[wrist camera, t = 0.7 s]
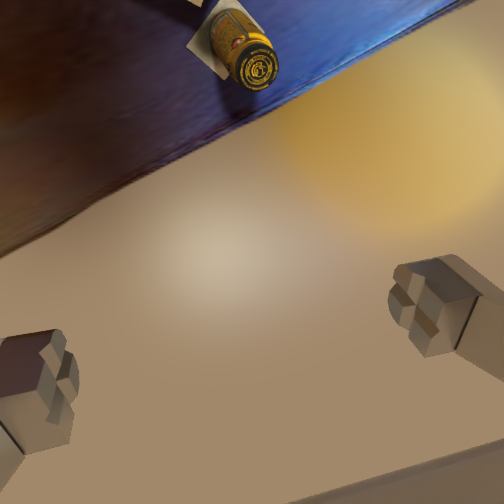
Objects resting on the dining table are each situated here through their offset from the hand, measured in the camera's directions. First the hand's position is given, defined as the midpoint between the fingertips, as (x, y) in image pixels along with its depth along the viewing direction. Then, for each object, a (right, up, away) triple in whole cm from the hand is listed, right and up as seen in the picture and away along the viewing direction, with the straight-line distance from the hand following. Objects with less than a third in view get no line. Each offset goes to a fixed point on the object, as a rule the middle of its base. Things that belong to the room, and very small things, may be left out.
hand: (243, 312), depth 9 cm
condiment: (-3, +31, +41) cm, 51 cm away
